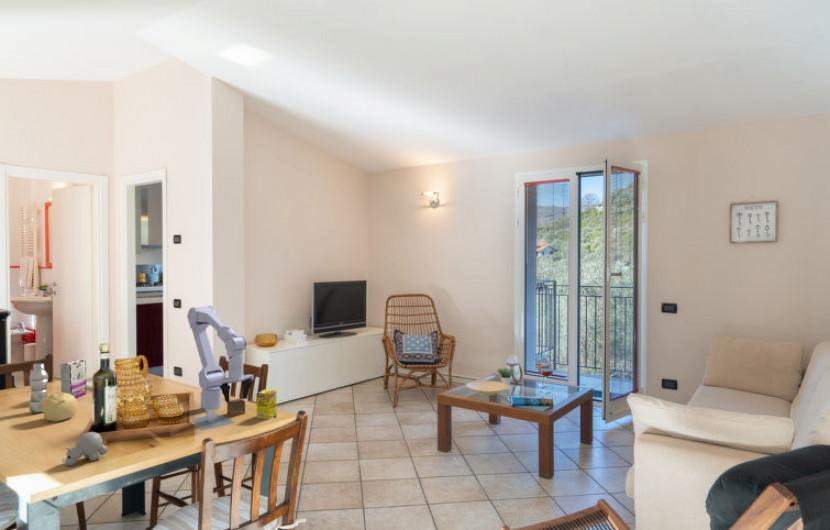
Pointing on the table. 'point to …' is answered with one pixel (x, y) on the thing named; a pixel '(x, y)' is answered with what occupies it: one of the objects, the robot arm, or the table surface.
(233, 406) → the walnut cap
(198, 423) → the slate board
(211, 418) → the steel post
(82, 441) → the chubby cartoon animal
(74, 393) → the candy bar box
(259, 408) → the supplement box
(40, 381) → the plastic bottle
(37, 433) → the table surface
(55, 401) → the pale yellow round lump
